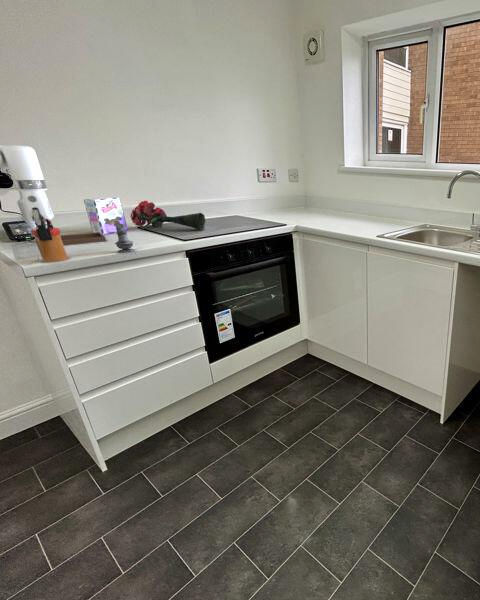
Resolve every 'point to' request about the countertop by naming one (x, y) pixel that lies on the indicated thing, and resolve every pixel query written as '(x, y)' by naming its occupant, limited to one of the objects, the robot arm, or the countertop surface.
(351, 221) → the countertop surface
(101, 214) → the candy box
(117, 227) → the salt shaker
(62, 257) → the jar
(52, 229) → the lid
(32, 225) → the bottle
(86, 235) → the tray
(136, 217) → the carnation
